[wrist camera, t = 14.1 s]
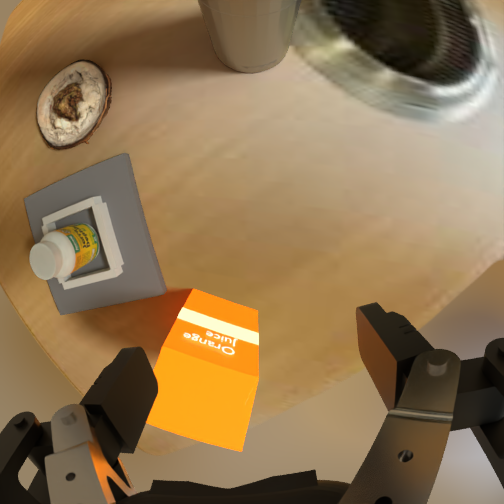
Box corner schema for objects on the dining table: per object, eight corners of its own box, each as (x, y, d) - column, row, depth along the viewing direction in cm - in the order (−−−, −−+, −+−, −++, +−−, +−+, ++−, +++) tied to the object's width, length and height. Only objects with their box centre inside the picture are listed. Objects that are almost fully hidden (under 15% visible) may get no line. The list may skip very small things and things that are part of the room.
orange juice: (238, 357, 40) (228, 474, 21) (177, 336, 40) (129, 443, 20) (258, 309, 39) (261, 422, 19) (192, 286, 38) (140, 384, 19)
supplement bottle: (63, 244, 35) (19, 263, 26) (80, 213, 34) (35, 225, 25) (89, 270, 36) (49, 296, 27) (108, 239, 35) (67, 259, 26)
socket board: (30, 197, 35) (15, 200, 32) (128, 153, 34) (117, 152, 31) (65, 311, 39) (53, 320, 36) (167, 290, 38) (159, 300, 35)
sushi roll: (33, 87, 32) (17, 82, 28) (114, 40, 31) (101, 29, 27) (46, 173, 35) (28, 173, 31) (132, 131, 34) (118, 127, 30)
